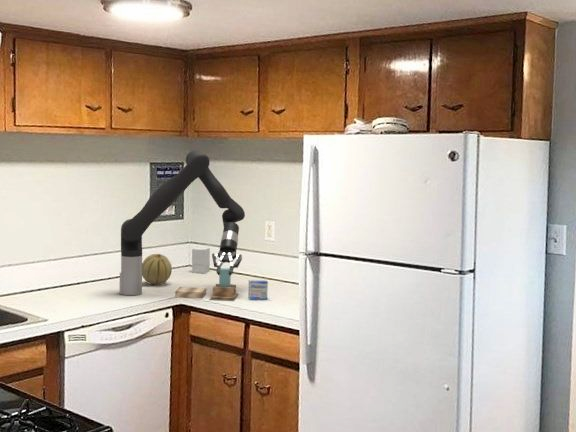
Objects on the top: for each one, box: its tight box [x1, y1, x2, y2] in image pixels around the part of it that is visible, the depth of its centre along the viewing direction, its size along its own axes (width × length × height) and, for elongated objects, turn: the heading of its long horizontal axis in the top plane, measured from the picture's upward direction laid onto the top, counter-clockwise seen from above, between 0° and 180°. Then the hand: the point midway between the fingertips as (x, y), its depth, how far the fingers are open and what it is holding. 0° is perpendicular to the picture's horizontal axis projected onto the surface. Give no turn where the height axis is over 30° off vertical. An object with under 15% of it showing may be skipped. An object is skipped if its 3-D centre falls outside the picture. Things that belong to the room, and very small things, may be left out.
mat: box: [208, 293, 240, 302], centre depth 337 cm, size 11×16×1 cm
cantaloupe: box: [142, 253, 173, 286], centre depth 363 cm, size 15×15×15 cm
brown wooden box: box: [210, 283, 239, 300], centre depth 337 cm, size 10×12×5 cm
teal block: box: [218, 267, 232, 287], centre depth 336 cm, size 4×3×8 cm, turn 85°
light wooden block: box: [174, 286, 208, 299], centre depth 338 cm, size 12×10×3 cm
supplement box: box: [191, 246, 211, 274], centre depth 400 cm, size 7×7×13 cm
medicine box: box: [248, 279, 269, 301], centre depth 335 cm, size 8×4×9 cm, turn 101°
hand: (224, 274), depth 334 cm, fingers closed on teal block, 4 cm apart
